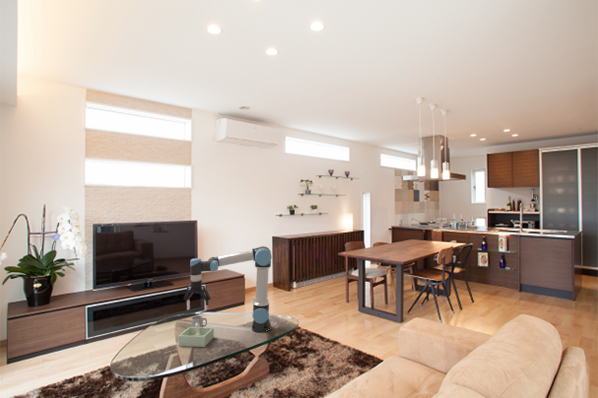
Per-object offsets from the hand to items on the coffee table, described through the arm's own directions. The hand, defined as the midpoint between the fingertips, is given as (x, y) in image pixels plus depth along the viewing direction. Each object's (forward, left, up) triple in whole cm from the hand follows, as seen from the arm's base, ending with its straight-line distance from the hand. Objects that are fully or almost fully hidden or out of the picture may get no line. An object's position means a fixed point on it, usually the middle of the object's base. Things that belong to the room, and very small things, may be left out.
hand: (197, 309), depth 240 cm
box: (0, +2, -22) cm, 22 cm away
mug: (+7, -16, -23) cm, 28 cm away
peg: (0, 0, -22) cm, 22 cm away
